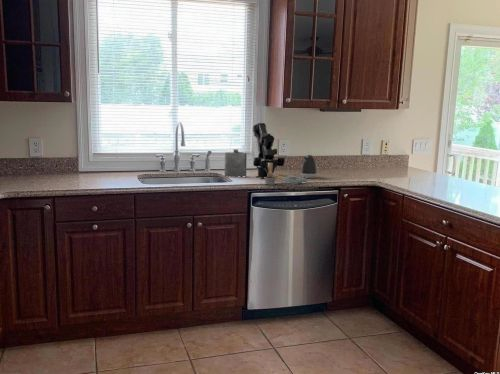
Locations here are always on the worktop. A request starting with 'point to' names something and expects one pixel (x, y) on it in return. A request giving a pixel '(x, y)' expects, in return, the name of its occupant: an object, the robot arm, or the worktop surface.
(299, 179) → the tray
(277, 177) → the slot board
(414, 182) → the worktop surface
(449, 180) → the worktop surface
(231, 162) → the flask
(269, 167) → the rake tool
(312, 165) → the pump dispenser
